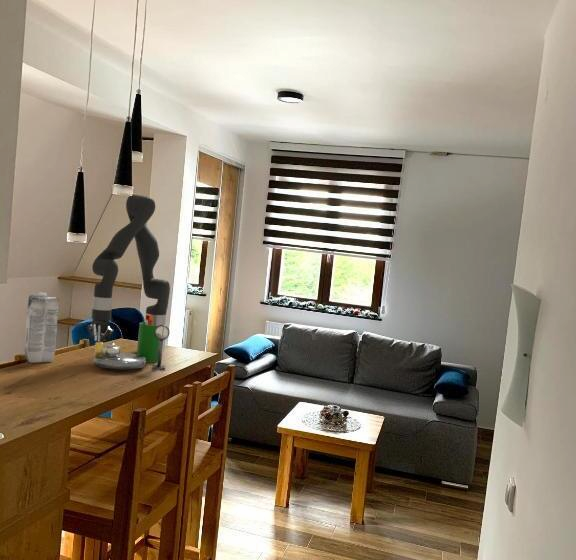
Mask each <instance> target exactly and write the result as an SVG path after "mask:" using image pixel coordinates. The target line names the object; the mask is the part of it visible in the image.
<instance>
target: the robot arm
mask: <svg viewBox="0 0 576 560" xmlns="http://www.w3.org/2000/svg"><path fill="white" fill-rule="evenodd" d="M131 195H132V196H130V195H129V196H128V197H127V199H126V202H125V208H126V209H125V210H126V212H127V213H126V214H127V216H128V219H129V222H128V223H127V224H126V225H125V226H123V227H122V228H121V229H120V230H118V231H117V232H116V233H115V234H114V235H113V237H112V239H111V240H110V242H109V243H108V245H107V247H106V248H105V249H104V250H103V251H102V252H101V253H100V254H99V255H97V257H96V258H95V259H94V261H93V262H92V272H93V274H94V275H96V276H100V277H102V278H101V281H98V282H96V283H95V284H94V292H93V300H92V307H91V309H92V310H91V319H92V321H91V324H89V325H87V326H86V329H87V332H88V333H89V335H90V337H91V339H92V340H94V341H95V343H94V345H95V344H96V342H103V343H104V341H108V339H110V337H111V336H112V335H113V333H114V332H115V329H112V328H111V327H110V326H111V324H110V321H111V320H112V319H111V318H112V307H113V287H114V285H115V283H116V280H117V277H118V274H119V265H118V263H117V262H116V261H115V260H118V259H121V258H123V256H124V254H125V252H126V250H127V249H128V248H129V246H130V244H131V242H132V241H133V239H134V240H135V244H136V251H137V255H138V259H139V263H140V264H139V265H140V269H141V274H142V275H141V276H142V286H143V292H144V294H145V296H146V298H149V299H154V300H156V303H155V304H153V305H149V306H147V307H146V309H145V318H144V319H146V315H147V314H150V315H153V325H154V326H159V325H165V326H166V321H167V319H166V318H167V310H168V308H169V307H168V306H169V300H170V294H171V285H170V282H169V281H168V280H166V279H159V278H155V277H154V267H155V266H156V264H157V262H158V260H159V258H160V249H159V244H158V241H157V238H156V237H155V235H154V234H153V232H152V231H151V230H150V228H149V227H148V225H147V222H148V221H149V220H150V219H151V217H152V216H153V215H154V213H155V211H156V202H155V200H154V199H153V198H152V197H150V196H146V195H140V194H131ZM144 322H146V324H145V325H148V320H145V321H144ZM165 345H166V339H165V340H163V349H162V352H163V351H165Z"/></svg>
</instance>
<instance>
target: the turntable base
mask: <svg viewBox="0 0 576 560" xmlns="http://www.w3.org/2000/svg"><path fill="white" fill-rule="evenodd" d="M107 369H109V370H114V371H129V369H111V368H107Z"/></svg>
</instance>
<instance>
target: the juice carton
mask: <svg viewBox="0 0 576 560" xmlns="http://www.w3.org/2000/svg"><path fill="white" fill-rule="evenodd" d="M27 300H28V303H27V311H26V322H25V323H26V324H25V336H24V337H25V338H24V340H25V341H24V355H25V356H24V357H25V359H26V360H27V361H28V362H29V363H33V364H34V363H37V364H38V363H52V362H53V360H54V357H55V353H56V342H57V330H58V318H59V317H58V316H59V298H57V297H55V296H54V295H47V292H38V295H34V294H33V295H32V294H31V295H29V296H28V299H27Z"/></svg>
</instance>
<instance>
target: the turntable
mask: <svg viewBox="0 0 576 560" xmlns="http://www.w3.org/2000/svg"><path fill="white" fill-rule="evenodd" d="M94 345H95V346H94V356H93V365H95V366H98V367H100V368H106V369H108V368H111V369H110V370H112V369H130V370H134V369H135V370H137V369H140V368H143V367H145V366H146V363H147V362H146V358H145V357H143V356H141V355H137V353H129V352H120V356H119V357H105V356H103V346H104V345H105V344H104V341H103V342H96V344H95V343H94Z"/></svg>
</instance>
